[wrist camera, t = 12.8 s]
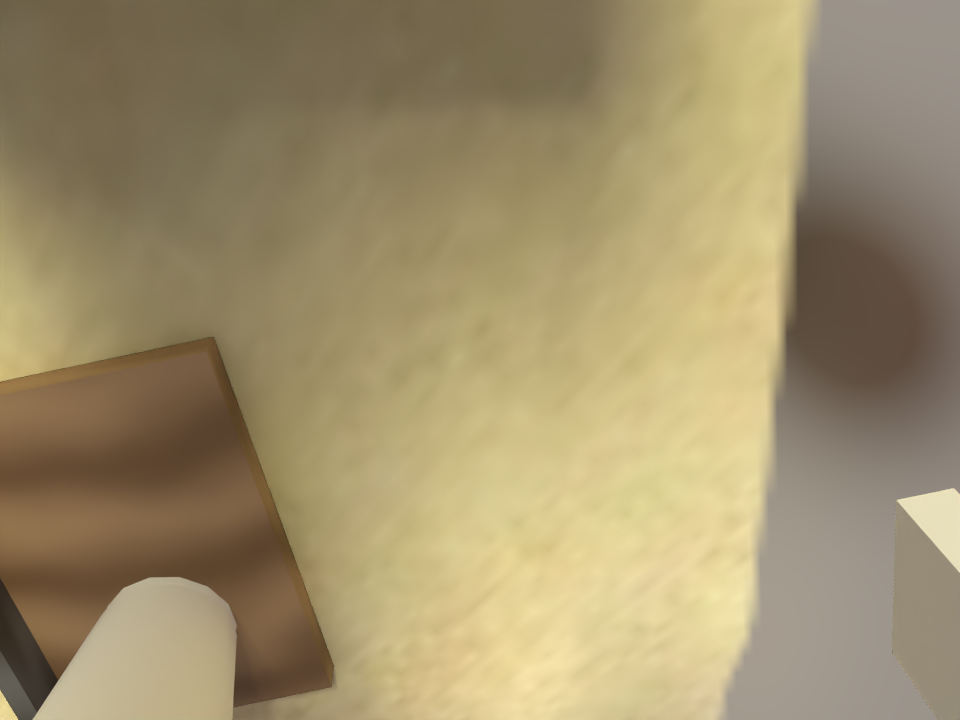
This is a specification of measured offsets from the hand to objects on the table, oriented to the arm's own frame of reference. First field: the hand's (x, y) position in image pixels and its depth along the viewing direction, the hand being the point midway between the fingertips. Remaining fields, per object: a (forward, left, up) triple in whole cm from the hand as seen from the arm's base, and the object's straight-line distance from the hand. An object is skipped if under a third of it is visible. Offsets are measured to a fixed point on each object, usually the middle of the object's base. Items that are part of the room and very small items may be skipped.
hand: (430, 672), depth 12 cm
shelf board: (+15, -17, -27) cm, 35 cm away
